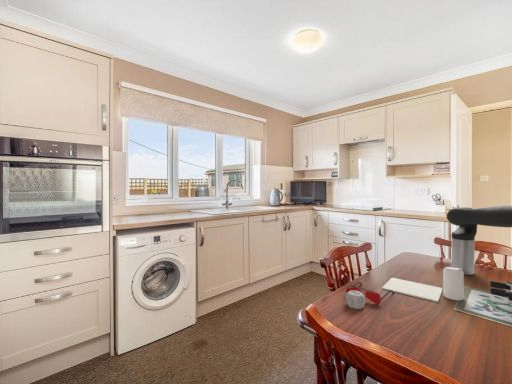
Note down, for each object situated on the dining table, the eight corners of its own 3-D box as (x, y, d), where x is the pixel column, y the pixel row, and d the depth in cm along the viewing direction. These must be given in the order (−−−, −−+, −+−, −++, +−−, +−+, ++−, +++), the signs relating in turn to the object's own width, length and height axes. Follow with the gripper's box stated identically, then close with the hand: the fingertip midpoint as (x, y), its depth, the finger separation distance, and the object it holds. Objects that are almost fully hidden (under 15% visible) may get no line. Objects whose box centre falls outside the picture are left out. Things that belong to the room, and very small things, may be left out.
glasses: (345, 296, 105) (345, 284, 105) (361, 285, 117) (361, 274, 117) (380, 307, 96) (380, 294, 95) (394, 294, 107) (394, 282, 107)
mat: (391, 278, 124) (391, 277, 123) (442, 289, 110) (442, 288, 110) (382, 289, 112) (382, 287, 112) (437, 302, 98) (437, 300, 98)
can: (467, 301, 98) (467, 271, 98) (448, 300, 100) (448, 270, 100) (457, 294, 105) (457, 265, 105) (439, 293, 106) (440, 265, 106)
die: (356, 302, 100) (356, 289, 99) (365, 307, 95) (365, 294, 95) (345, 304, 98) (345, 291, 98) (354, 310, 93) (354, 296, 93)
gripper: (553, 282, 89) (490, 272, 100) (562, 295, 79) (491, 282, 89) (552, 303, 89) (490, 291, 100) (562, 319, 79) (490, 303, 90)
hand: (490, 287), depth 95 cm, fingers open, 8 cm apart
